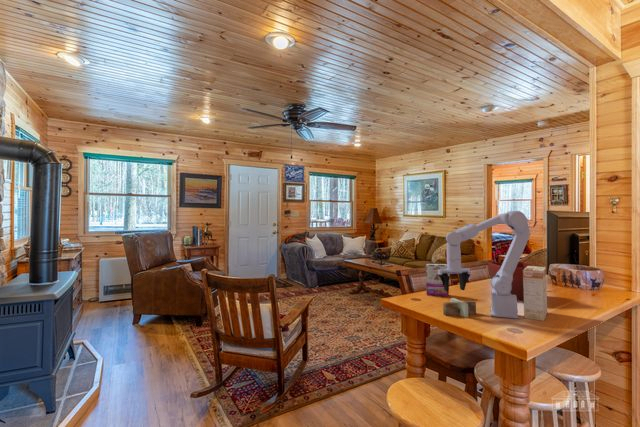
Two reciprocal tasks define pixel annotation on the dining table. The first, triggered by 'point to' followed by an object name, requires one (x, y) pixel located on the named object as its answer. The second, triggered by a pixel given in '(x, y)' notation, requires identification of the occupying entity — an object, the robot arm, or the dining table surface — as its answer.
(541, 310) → the coffeecake box
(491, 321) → the dining table surface
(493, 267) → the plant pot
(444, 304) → the base plate
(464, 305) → the sage plate
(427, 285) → the candy bar box
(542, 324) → the dining table surface
